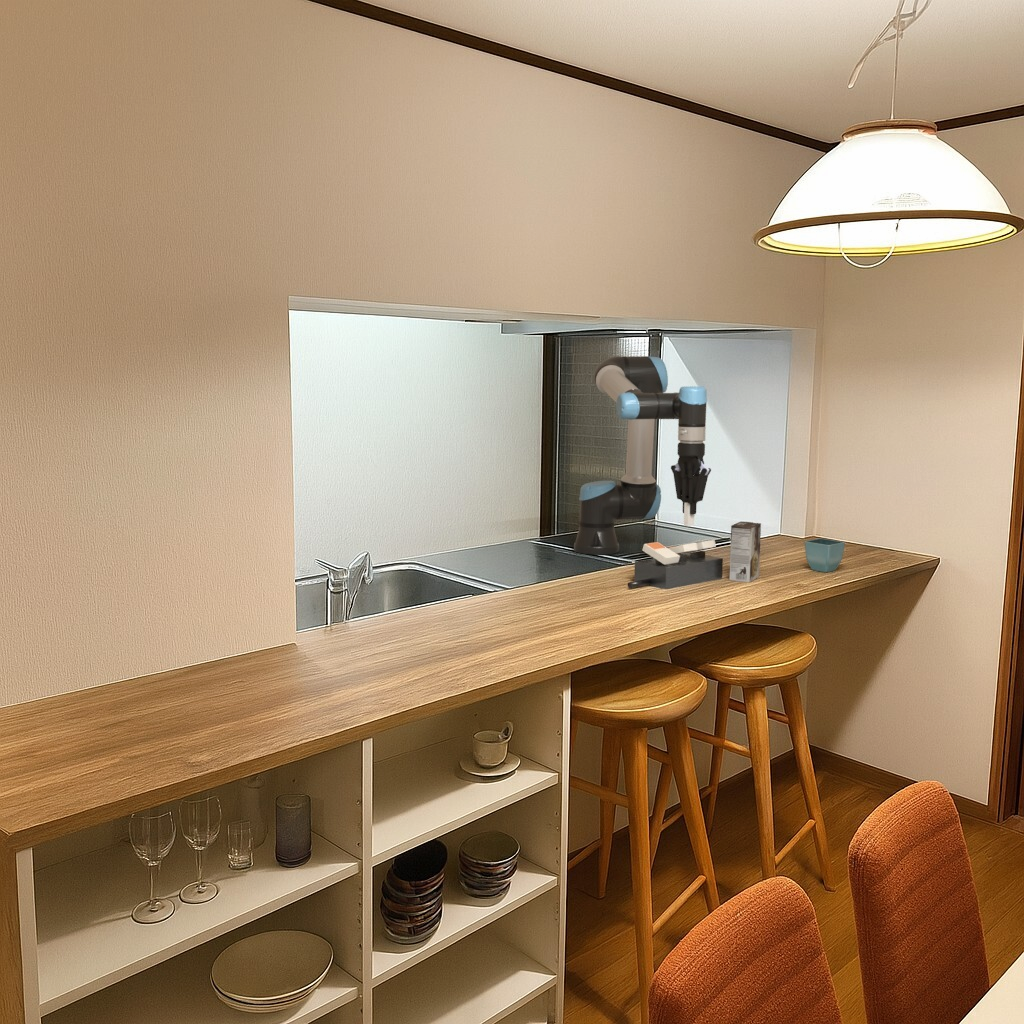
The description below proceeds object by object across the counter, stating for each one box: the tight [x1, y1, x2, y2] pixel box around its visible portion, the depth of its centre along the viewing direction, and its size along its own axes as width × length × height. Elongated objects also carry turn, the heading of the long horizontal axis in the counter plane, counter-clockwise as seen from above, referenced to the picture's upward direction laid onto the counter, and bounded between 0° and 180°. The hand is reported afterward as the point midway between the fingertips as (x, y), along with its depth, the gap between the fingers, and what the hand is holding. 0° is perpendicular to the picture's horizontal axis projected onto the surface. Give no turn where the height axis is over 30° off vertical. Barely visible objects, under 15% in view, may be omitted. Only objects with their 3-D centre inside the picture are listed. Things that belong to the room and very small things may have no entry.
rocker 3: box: [681, 539, 717, 554], centre depth 285 cm, size 9×6×2 cm, turn 38°
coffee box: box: [728, 521, 762, 583], centre depth 283 cm, size 9×6×16 cm
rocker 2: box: [667, 542, 698, 554], centre depth 280 cm, size 9×6×2 cm, turn 38°
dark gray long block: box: [627, 550, 724, 590], centre depth 278 cm, size 12×32×7 cm, turn 129°
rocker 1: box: [642, 541, 680, 565], centre depth 274 cm, size 9×6×2 cm, turn 39°
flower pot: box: [804, 538, 846, 573], centre depth 296 cm, size 9×9×9 cm
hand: (688, 525), depth 276 cm, fingers closed
